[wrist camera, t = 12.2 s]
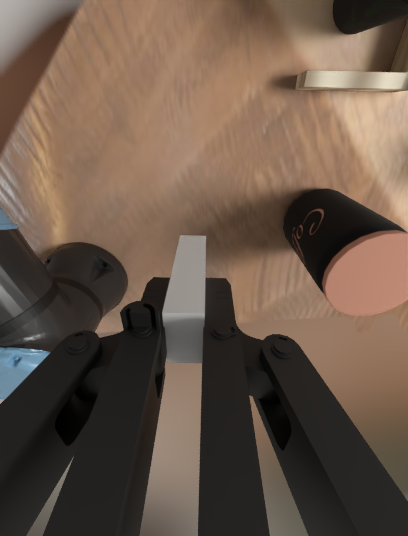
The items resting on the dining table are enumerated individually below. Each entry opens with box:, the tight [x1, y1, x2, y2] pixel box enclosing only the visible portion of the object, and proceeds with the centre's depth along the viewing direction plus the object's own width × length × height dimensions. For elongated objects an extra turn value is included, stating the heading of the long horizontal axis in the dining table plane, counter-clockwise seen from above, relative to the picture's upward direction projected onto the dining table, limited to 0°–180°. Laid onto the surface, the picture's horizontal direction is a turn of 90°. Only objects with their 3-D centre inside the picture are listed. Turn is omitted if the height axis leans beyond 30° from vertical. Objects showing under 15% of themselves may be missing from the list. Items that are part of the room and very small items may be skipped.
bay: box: [295, 19, 408, 92], centre depth 25 cm, size 14×15×5 cm
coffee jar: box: [283, 189, 408, 316], centre depth 33 cm, size 11×11×18 cm
